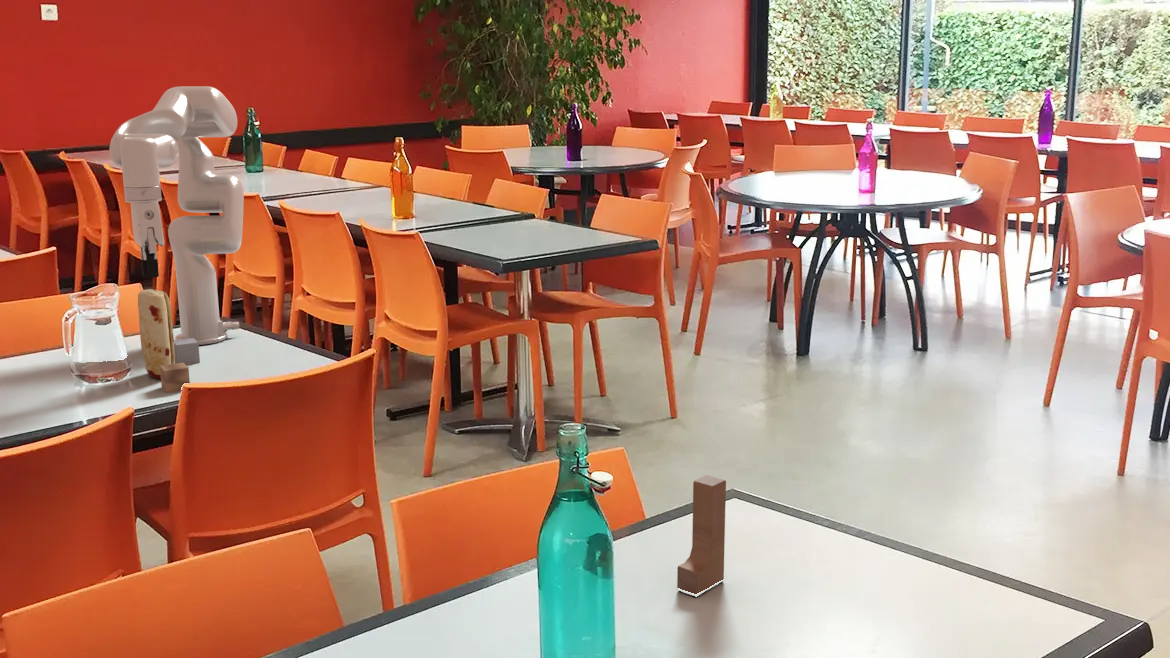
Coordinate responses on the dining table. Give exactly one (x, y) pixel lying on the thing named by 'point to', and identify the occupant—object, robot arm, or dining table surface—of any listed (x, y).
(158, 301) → the food model
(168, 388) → the walnut cube
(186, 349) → the slate cube
